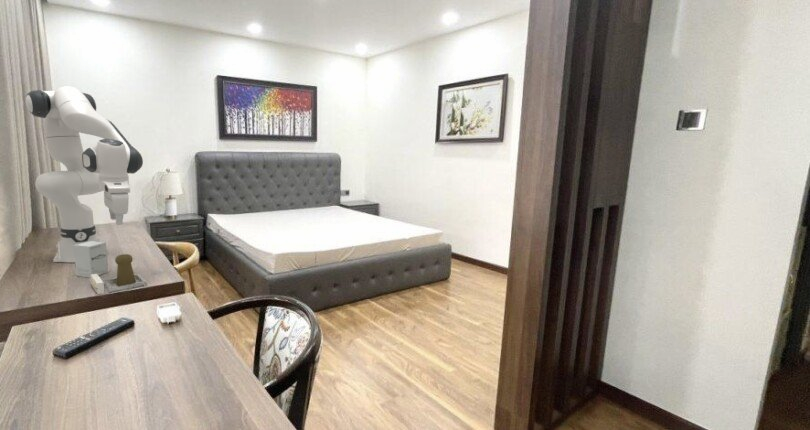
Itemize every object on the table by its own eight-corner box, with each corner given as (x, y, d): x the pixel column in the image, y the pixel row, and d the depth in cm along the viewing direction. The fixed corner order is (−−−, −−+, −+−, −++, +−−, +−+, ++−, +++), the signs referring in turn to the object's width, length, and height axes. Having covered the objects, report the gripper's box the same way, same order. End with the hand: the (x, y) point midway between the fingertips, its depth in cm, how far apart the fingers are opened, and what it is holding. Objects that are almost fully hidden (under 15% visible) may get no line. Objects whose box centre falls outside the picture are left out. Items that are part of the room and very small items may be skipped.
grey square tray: (102, 284, 147) (102, 279, 147) (139, 277, 155) (138, 273, 155) (109, 292, 139) (109, 288, 139) (147, 285, 147) (146, 281, 147)
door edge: (90, 285, 145) (88, 274, 145) (97, 283, 147) (96, 273, 146) (96, 294, 137) (95, 283, 136) (104, 293, 139) (103, 282, 138)
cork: (113, 286, 144) (110, 257, 142) (119, 281, 149) (117, 253, 147) (132, 285, 146) (130, 256, 144) (138, 280, 151) (135, 252, 149)
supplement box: (91, 278, 153) (88, 246, 150) (76, 276, 154) (72, 244, 152) (109, 272, 160) (106, 242, 157) (94, 270, 161) (91, 240, 159)
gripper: (97, 181, 148) (100, 217, 151) (109, 189, 135) (111, 228, 137) (118, 181, 153) (120, 215, 155) (131, 188, 139) (133, 226, 142)
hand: (116, 221), depth 146 cm, fingers open, 8 cm apart
